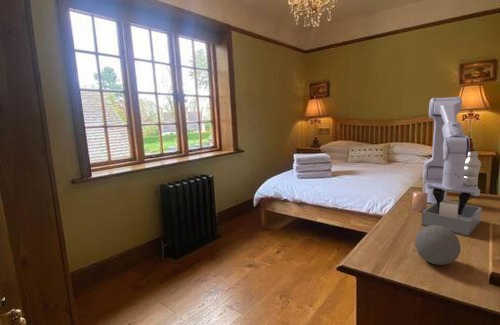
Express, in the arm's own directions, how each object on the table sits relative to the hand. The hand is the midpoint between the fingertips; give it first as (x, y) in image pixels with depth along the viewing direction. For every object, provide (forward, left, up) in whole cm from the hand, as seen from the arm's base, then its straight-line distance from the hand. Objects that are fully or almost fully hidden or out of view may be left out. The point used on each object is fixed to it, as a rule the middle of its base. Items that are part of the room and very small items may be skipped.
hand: (450, 212), depth 97 cm
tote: (-3, 0, -5) cm, 5 cm away
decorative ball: (+29, +4, -5) cm, 30 cm away
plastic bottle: (-43, -4, -5) cm, 43 cm away
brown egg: (-10, -13, -5) cm, 16 cm away
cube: (0, 0, -2) cm, 2 cm away
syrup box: (-39, -18, -5) cm, 43 cm away
